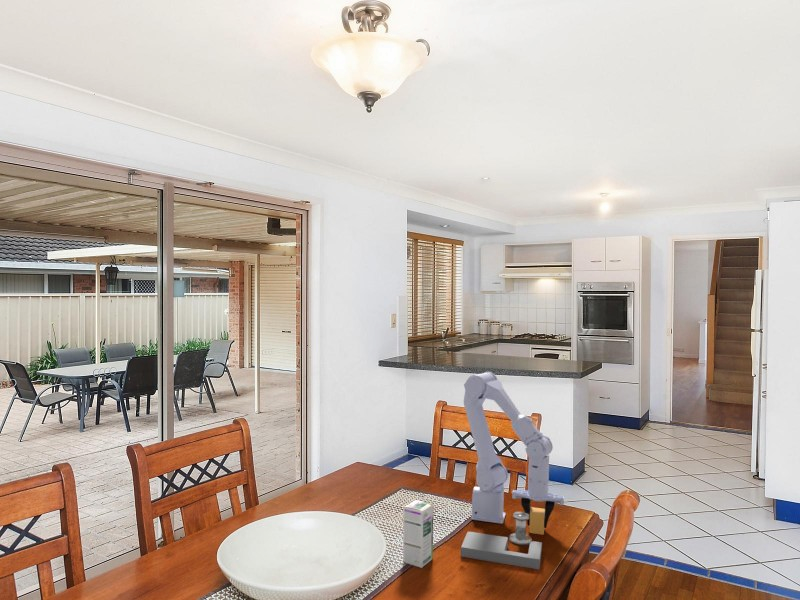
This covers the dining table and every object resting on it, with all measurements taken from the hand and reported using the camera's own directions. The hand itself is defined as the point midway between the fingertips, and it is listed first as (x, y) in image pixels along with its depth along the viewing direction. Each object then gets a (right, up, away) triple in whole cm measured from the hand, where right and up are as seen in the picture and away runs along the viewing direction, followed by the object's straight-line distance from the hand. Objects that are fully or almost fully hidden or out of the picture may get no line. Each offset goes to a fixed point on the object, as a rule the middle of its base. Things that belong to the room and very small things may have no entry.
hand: (537, 525), depth 164 cm
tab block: (0, -2, 0) cm, 2 cm away
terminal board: (-13, -2, -15) cm, 20 cm away
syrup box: (-35, -2, -19) cm, 40 cm away
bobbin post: (-6, -2, -6) cm, 9 cm away
